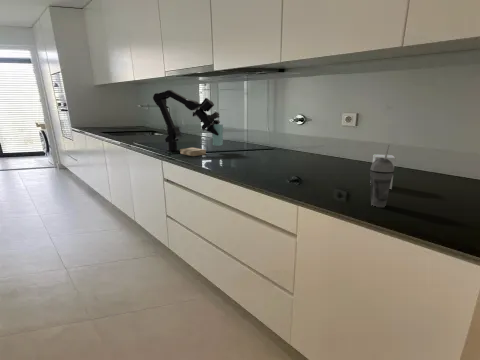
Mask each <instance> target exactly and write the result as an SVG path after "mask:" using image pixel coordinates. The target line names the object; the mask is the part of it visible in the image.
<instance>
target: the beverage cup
mask: <svg viewBox="0 0 480 360" xmlns="http://www.w3.org/2000/svg"><path fill="white" fill-rule="evenodd" d="M389 150H390V144H387V146H386V152H385V154H384V155H385V158H379V159H377V160H375V161H374V162H373V161H372V163H371V166H370V169H369V173H370V174H369V175H370V183H371V184H370V206H372V205H373V206H372V207H374V206H376V207H375V208H385V206H387V202H388V198H389V194H390V193H389V192H390V190H389V189H390V184H391V179H392V177H393V178H394V173H395V165H394V166H393V164H392V162H391V161H390V160H388V159H386V158H387V155H389V153H388V152H389Z"/></svg>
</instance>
